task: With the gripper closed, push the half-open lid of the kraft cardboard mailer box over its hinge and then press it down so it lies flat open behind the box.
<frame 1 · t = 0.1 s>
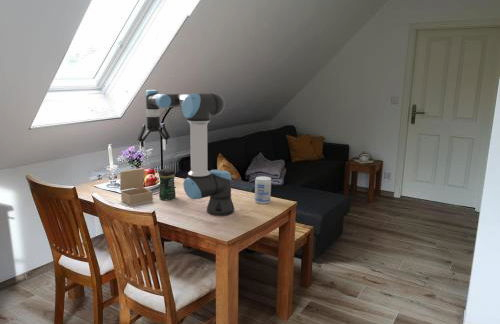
hand: (154, 151, 237), 28 cm above the table, fingers open, 13 cm apart
mailer box: (137, 201, 231), on the table
coffee jar: (167, 198, 237), on the table
supplement tub: (262, 202, 234), on the table
lid: (132, 179, 232), point 12 cm above the table, hinge at 80.0°
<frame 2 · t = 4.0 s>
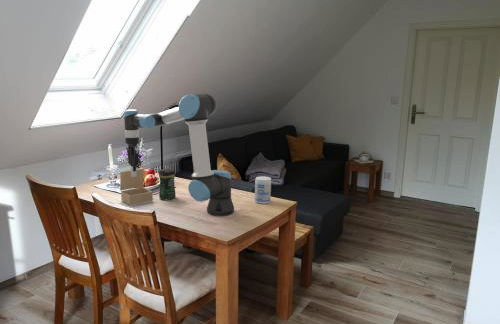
hand: (133, 176, 229), 15 cm above the table, fingers closed
lid: (132, 179, 232), point 12 cm above the table, hinge at 80.3°, touching gripper
everything else where it was.
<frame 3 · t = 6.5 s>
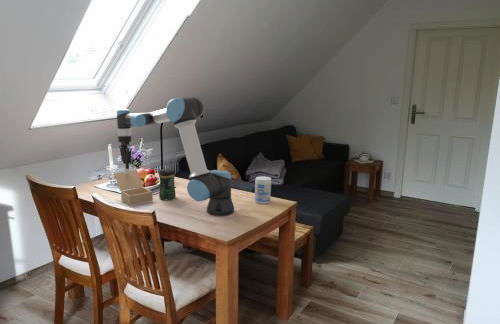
hand: (126, 173, 237), 14 cm above the table, fingers closed
lid: (128, 180, 236), point 11 cm above the table, hinge at 131.4°, touching gripper
everything else where it was.
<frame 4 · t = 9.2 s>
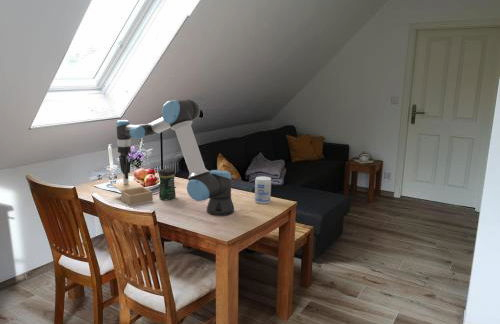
hand: (126, 183, 240), 8 cm above the table, fingers closed
lid: (127, 185, 238), point 7 cm above the table, hinge at 173.4°, touching gripper
everything else where it was.
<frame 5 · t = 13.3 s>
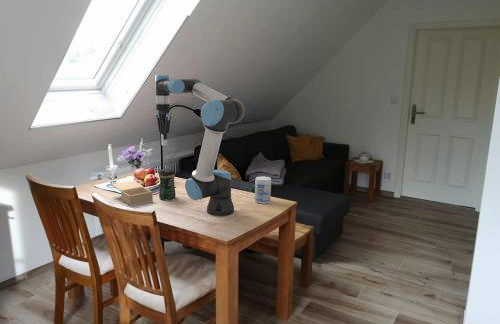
hand: (164, 145, 221), 34 cm above the table, fingers closed
lid: (127, 185, 238), point 7 cm above the table, hinge at 173.6°
everything else where it was.
at the end: lid at +174° (first picture: +80°) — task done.
